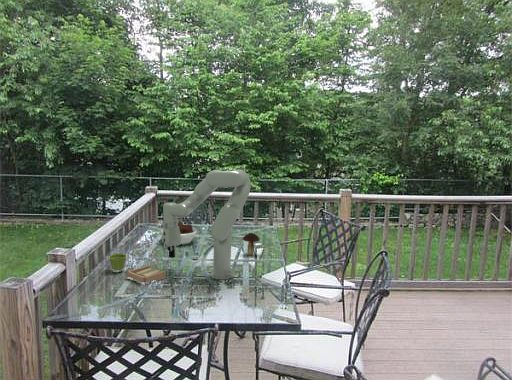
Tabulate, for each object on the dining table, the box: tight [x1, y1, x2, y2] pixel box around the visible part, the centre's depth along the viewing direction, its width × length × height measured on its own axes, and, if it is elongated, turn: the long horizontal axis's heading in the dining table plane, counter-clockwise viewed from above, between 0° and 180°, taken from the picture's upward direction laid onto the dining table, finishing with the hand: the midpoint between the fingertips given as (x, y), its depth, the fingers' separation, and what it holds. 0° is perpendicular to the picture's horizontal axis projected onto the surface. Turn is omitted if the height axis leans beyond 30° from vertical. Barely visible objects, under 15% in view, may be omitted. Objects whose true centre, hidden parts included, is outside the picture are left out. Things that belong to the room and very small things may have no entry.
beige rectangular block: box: [136, 267, 162, 277], centre depth 217 cm, size 8×11×4 cm
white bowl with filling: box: [159, 221, 198, 246], centre depth 287 cm, size 25×25×15 cm
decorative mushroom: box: [242, 232, 260, 256], centre depth 265 cm, size 11×11×15 cm
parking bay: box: [125, 264, 167, 282], centre depth 216 cm, size 14×14×4 cm
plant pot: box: [108, 253, 128, 270], centre depth 225 cm, size 9×9×9 cm
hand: (171, 257), depth 228 cm, fingers closed
